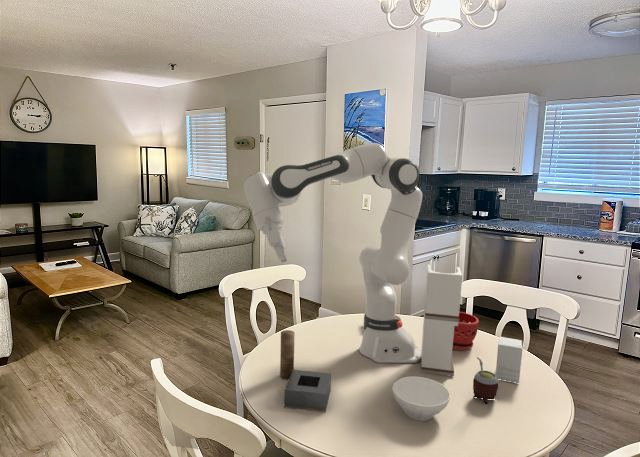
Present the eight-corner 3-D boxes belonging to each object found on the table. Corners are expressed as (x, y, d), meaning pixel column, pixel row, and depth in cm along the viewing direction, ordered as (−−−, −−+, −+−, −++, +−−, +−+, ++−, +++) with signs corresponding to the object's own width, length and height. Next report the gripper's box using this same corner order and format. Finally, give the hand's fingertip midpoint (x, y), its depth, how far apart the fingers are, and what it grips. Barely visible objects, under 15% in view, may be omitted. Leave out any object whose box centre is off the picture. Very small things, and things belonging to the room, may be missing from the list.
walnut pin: (294, 373, 144) (295, 330, 141) (292, 380, 139) (292, 336, 137) (281, 372, 144) (282, 329, 142) (278, 378, 140) (279, 335, 137)
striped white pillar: (453, 376, 145) (462, 275, 139) (421, 372, 147) (428, 272, 141) (451, 361, 156) (459, 267, 150) (421, 357, 158) (427, 264, 152)
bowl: (412, 436, 113) (414, 411, 112) (380, 404, 127) (381, 381, 126) (460, 422, 119) (462, 399, 118) (424, 393, 134) (426, 372, 133)
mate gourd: (494, 394, 134) (498, 349, 132) (499, 408, 127) (504, 360, 124) (469, 391, 136) (473, 346, 133) (472, 405, 128) (476, 357, 126)
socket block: (330, 390, 134) (331, 373, 133) (325, 412, 122) (326, 394, 121) (292, 386, 136) (293, 369, 135) (284, 407, 124) (284, 389, 123)
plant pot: (452, 354, 162) (454, 323, 160) (435, 339, 174) (437, 311, 172) (483, 351, 165) (486, 321, 163) (464, 337, 177) (466, 309, 175)
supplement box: (519, 375, 147) (522, 340, 145) (518, 385, 141) (522, 348, 139) (495, 370, 150) (499, 335, 148) (494, 379, 144) (498, 343, 142)
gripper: (275, 211, 130) (291, 255, 128) (280, 222, 150) (294, 259, 149) (255, 219, 130) (270, 262, 128) (263, 228, 150) (276, 266, 148)
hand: (283, 261), depth 138 cm, fingers open, 8 cm apart
